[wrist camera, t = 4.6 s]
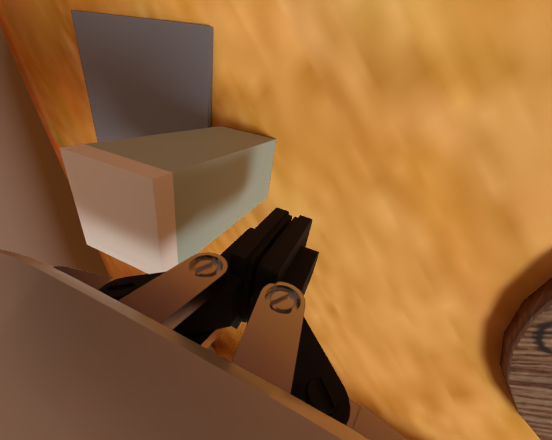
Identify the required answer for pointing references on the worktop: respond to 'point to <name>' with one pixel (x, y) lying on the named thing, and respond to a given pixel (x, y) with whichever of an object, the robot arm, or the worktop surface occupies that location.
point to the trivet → (531, 360)
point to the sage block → (166, 191)
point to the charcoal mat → (145, 74)
